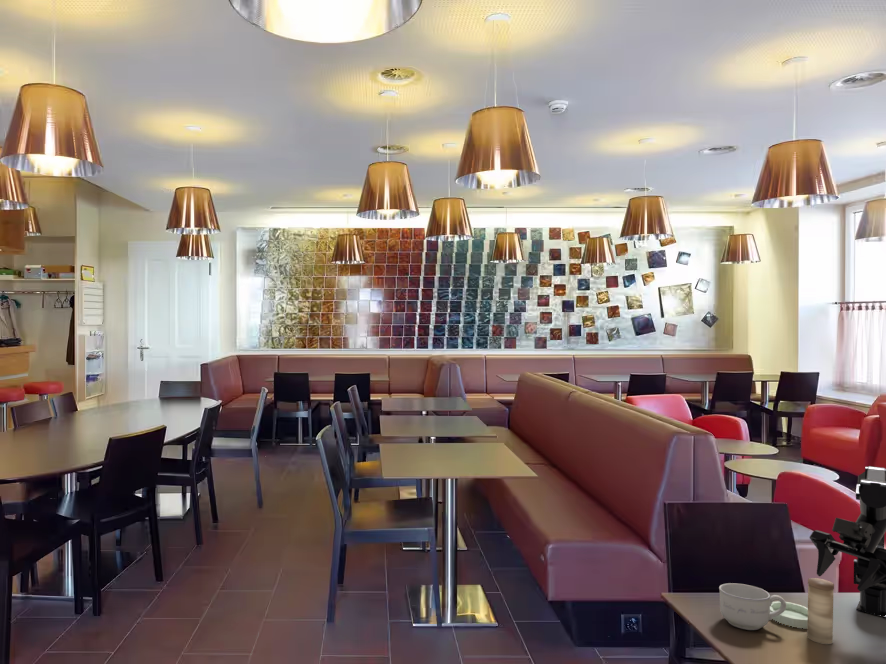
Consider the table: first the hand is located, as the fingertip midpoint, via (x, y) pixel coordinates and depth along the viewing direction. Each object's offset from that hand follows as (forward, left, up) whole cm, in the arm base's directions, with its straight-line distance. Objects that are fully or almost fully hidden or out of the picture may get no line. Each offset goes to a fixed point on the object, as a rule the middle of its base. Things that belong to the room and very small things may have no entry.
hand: (837, 582), depth 139 cm
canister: (+5, -3, -12) cm, 13 cm away
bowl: (-2, -10, -12) cm, 15 cm away
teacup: (+9, -16, -12) cm, 22 cm away
